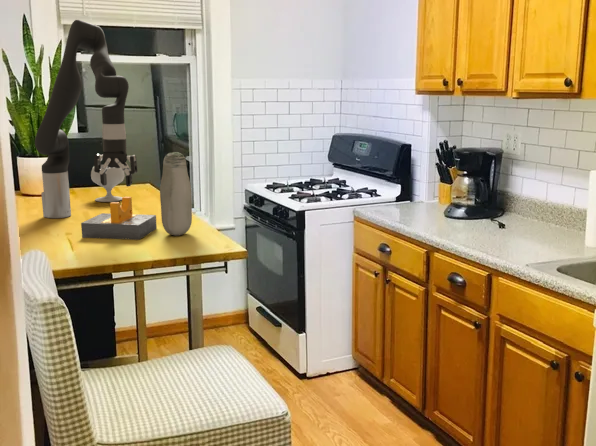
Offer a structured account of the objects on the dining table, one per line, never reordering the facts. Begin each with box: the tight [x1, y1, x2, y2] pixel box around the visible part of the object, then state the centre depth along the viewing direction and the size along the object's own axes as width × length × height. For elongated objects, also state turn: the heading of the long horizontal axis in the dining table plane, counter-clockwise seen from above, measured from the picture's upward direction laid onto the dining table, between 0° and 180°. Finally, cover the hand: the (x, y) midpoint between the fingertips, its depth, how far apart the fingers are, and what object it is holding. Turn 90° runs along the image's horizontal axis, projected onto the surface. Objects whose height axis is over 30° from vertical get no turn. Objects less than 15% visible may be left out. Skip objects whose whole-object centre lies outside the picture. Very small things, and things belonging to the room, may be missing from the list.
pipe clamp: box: [109, 196, 133, 222], centre depth 219 cm, size 12×4×6 cm, turn 172°
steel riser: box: [80, 212, 158, 241], centre depth 220 cm, size 20×16×5 cm
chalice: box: [90, 164, 126, 203], centre depth 279 cm, size 14×14×15 cm
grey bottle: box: [159, 151, 193, 236], centre depth 216 cm, size 10×10×28 cm
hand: (116, 185), depth 217 cm, fingers open, 8 cm apart
